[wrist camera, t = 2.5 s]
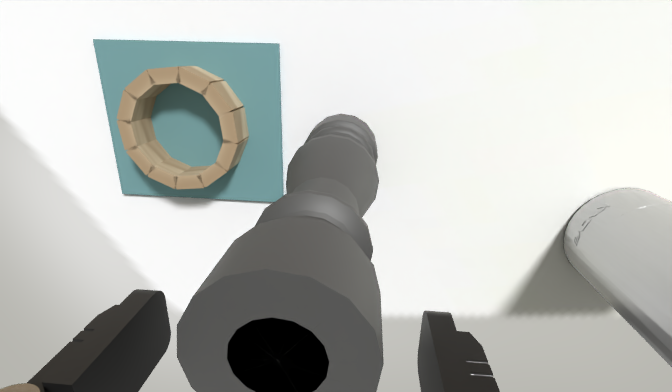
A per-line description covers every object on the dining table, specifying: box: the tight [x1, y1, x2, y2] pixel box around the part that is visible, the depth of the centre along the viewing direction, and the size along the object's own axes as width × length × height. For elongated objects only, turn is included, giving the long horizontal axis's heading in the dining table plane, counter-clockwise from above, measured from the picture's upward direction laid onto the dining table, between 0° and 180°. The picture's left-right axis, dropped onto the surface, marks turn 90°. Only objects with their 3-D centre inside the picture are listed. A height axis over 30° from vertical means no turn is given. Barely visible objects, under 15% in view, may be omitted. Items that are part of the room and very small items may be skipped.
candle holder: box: [177, 114, 383, 392], centre depth 22 cm, size 6×6×25 cm
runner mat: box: [93, 39, 284, 202], centre depth 34 cm, size 16×14×1 cm
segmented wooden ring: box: [117, 66, 249, 189], centre depth 32 cm, size 10×10×3 cm
